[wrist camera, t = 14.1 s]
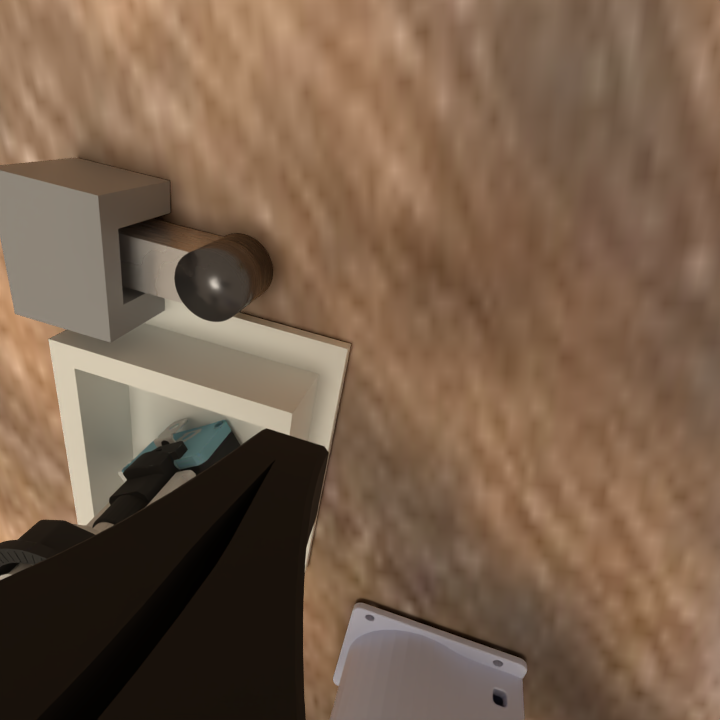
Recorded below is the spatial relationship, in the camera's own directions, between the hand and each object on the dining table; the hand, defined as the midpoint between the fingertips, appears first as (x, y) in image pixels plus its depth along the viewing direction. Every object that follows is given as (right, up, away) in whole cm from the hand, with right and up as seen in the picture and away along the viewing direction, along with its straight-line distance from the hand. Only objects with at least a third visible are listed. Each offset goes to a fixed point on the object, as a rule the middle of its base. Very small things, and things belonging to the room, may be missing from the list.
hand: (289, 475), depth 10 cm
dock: (-5, +1, +13) cm, 14 cm away
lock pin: (-6, +7, +10) cm, 13 cm away
